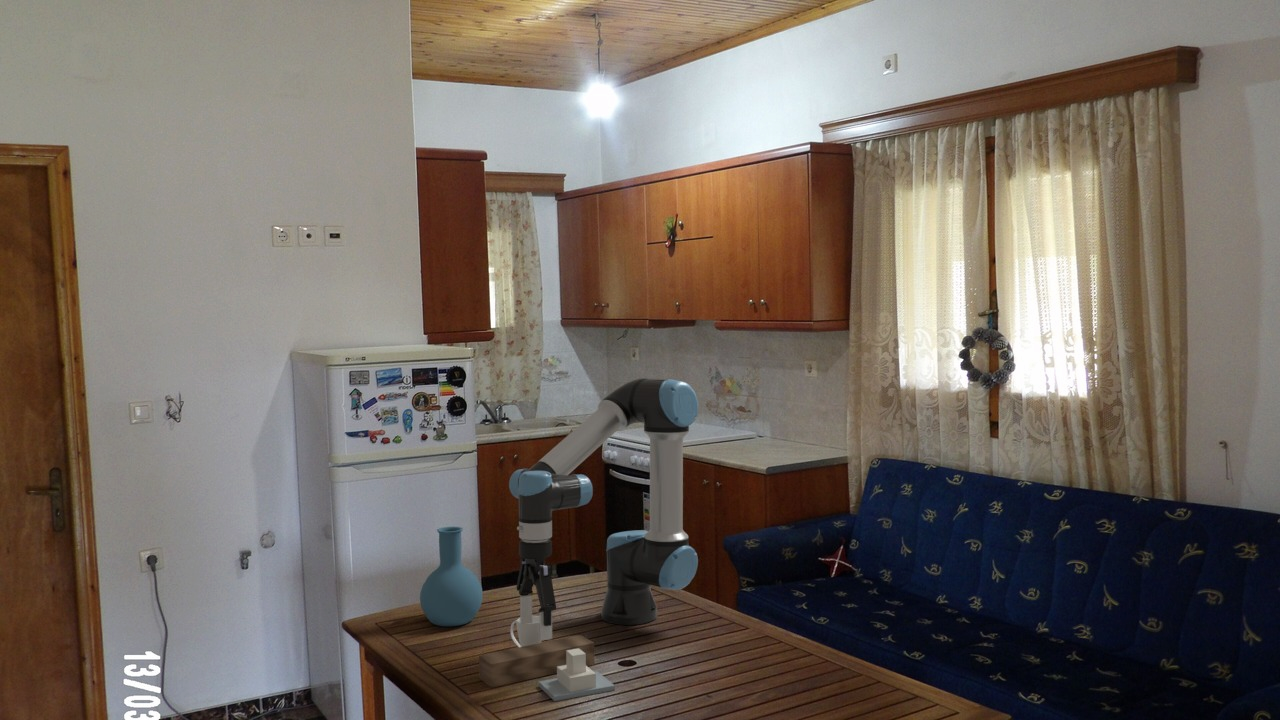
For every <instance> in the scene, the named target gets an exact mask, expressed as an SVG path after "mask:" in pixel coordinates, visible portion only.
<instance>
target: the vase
mask: <svg viewBox="0 0 1280 720" xmlns="http://www.w3.org/2000/svg"><path fill="white" fill-rule="evenodd" d="M463 530H464V528H463V527H461V526H444V527H440V528H437V529H436V531H437V532H438V545H439V546H438V548H439V549H438V550H439V551H438V552H439V565H438V566H437V568H436V569H435V570H433V571H432V572H430V574H429V575H428V576H427V578H426V579H425V580H424V582H423V584H422V586H421V590H420V593H419V595H420V596H419V600H420V601H419V602H420V608H421V610H422V612H423V613H424V615H425V616H426V618H427V619H428V621H429V622H430V623H432V624H433V625H435V626H439V627H445V628H447V627H458V626H459V627H460V626H463V625H466V624H468V623H470V622H471V621H473V619H474V618H475V617H476V615H477V614H478V612H479V610H480V608H481V606H482V603H483V587H482V584H481V582H480V580H479V578H477V576H476V575H475V574H474V573H473V571H472V570H470V569H469V568H467V567H465V566H464V564H463V563H462V531H463Z"/></svg>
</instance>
